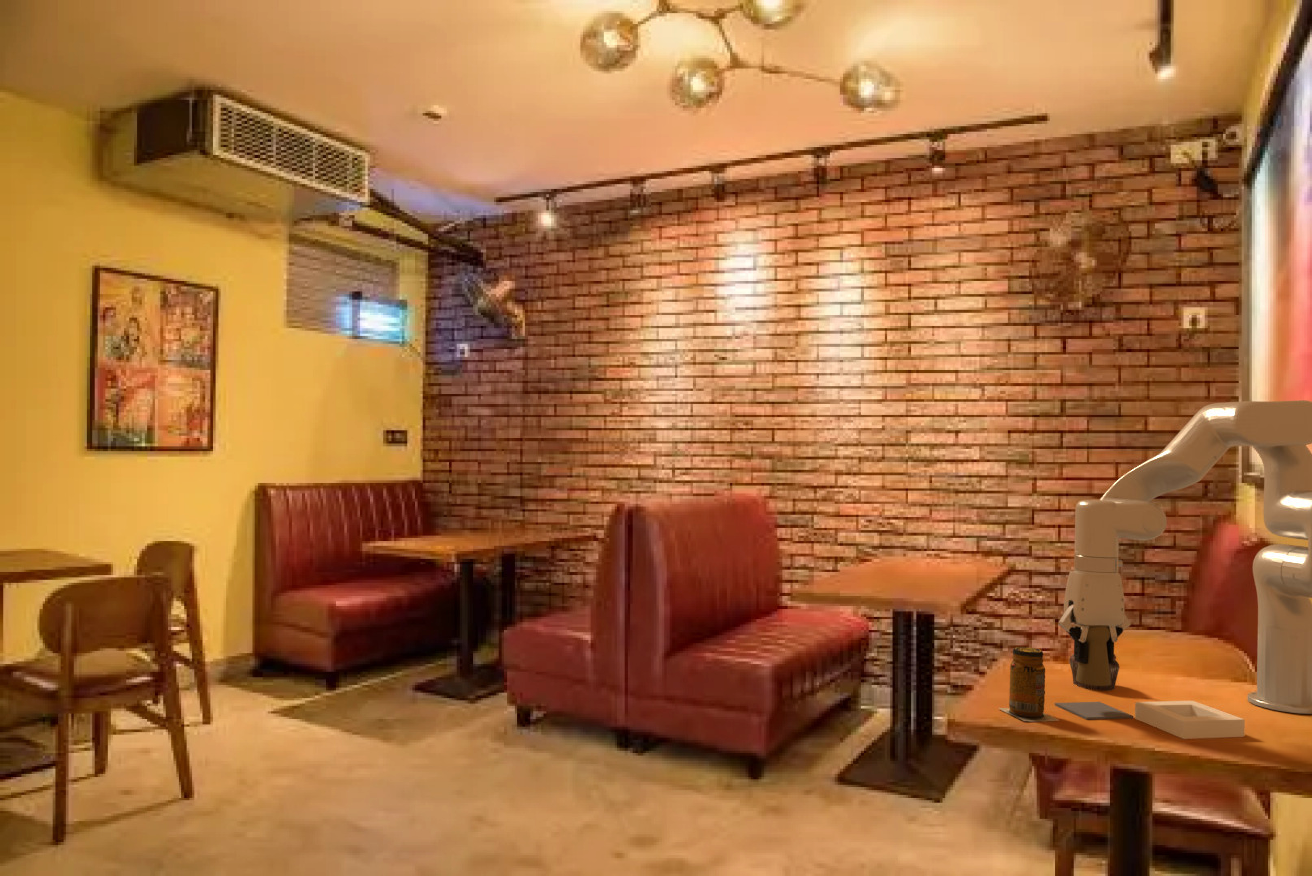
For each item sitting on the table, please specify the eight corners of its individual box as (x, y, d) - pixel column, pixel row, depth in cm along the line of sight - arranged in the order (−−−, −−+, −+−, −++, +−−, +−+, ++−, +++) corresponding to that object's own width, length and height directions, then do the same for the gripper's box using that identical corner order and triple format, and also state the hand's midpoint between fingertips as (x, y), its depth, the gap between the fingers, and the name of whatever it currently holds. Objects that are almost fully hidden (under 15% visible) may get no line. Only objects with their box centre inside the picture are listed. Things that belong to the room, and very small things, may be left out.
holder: (1192, 716, 172) (1192, 700, 172) (1244, 736, 160) (1244, 719, 160) (1135, 718, 169) (1135, 702, 170) (1183, 738, 158) (1183, 721, 158)
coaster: (1099, 703, 179) (1099, 701, 179) (1133, 718, 170) (1133, 715, 170) (1054, 704, 177) (1054, 702, 177) (1086, 719, 168) (1086, 717, 168)
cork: (1115, 686, 170) (1116, 627, 170) (1080, 684, 171) (1081, 625, 171) (1106, 679, 176) (1107, 621, 176) (1072, 676, 177) (1073, 619, 177)
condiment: (1032, 708, 175) (1034, 645, 175) (1060, 721, 167) (1061, 655, 167) (997, 709, 174) (999, 645, 174) (1023, 722, 165) (1025, 655, 165)
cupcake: (1128, 692, 189) (1129, 643, 189) (1080, 691, 189) (1081, 642, 189) (1106, 680, 198) (1107, 634, 198) (1061, 679, 198) (1061, 632, 199)
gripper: (1122, 563, 179) (1120, 657, 179) (1043, 562, 176) (1041, 658, 176) (1149, 568, 172) (1147, 666, 171) (1067, 567, 169) (1065, 667, 168)
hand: (1093, 661), depth 174 cm, fingers closed on cork, 4 cm apart
